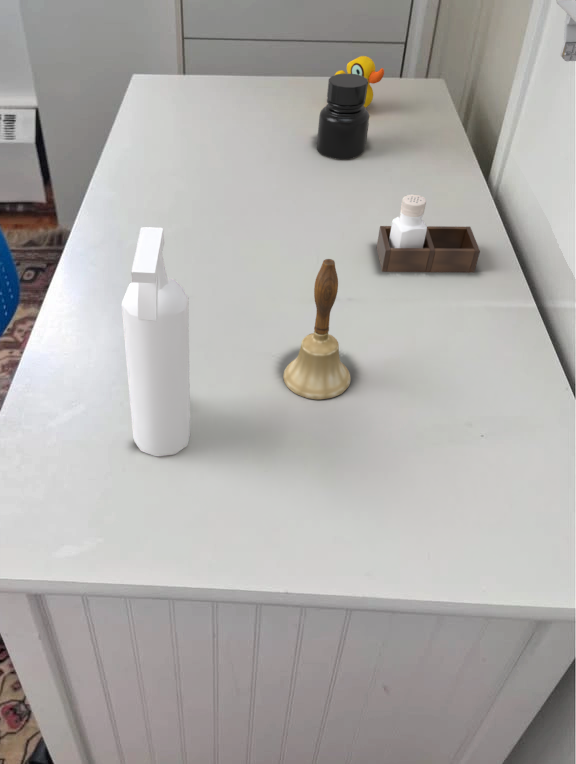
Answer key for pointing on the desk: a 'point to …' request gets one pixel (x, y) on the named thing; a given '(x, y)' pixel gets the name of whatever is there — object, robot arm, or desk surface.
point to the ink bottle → (344, 117)
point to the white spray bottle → (157, 350)
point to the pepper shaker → (409, 224)
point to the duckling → (365, 74)
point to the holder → (431, 251)
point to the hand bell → (319, 347)
